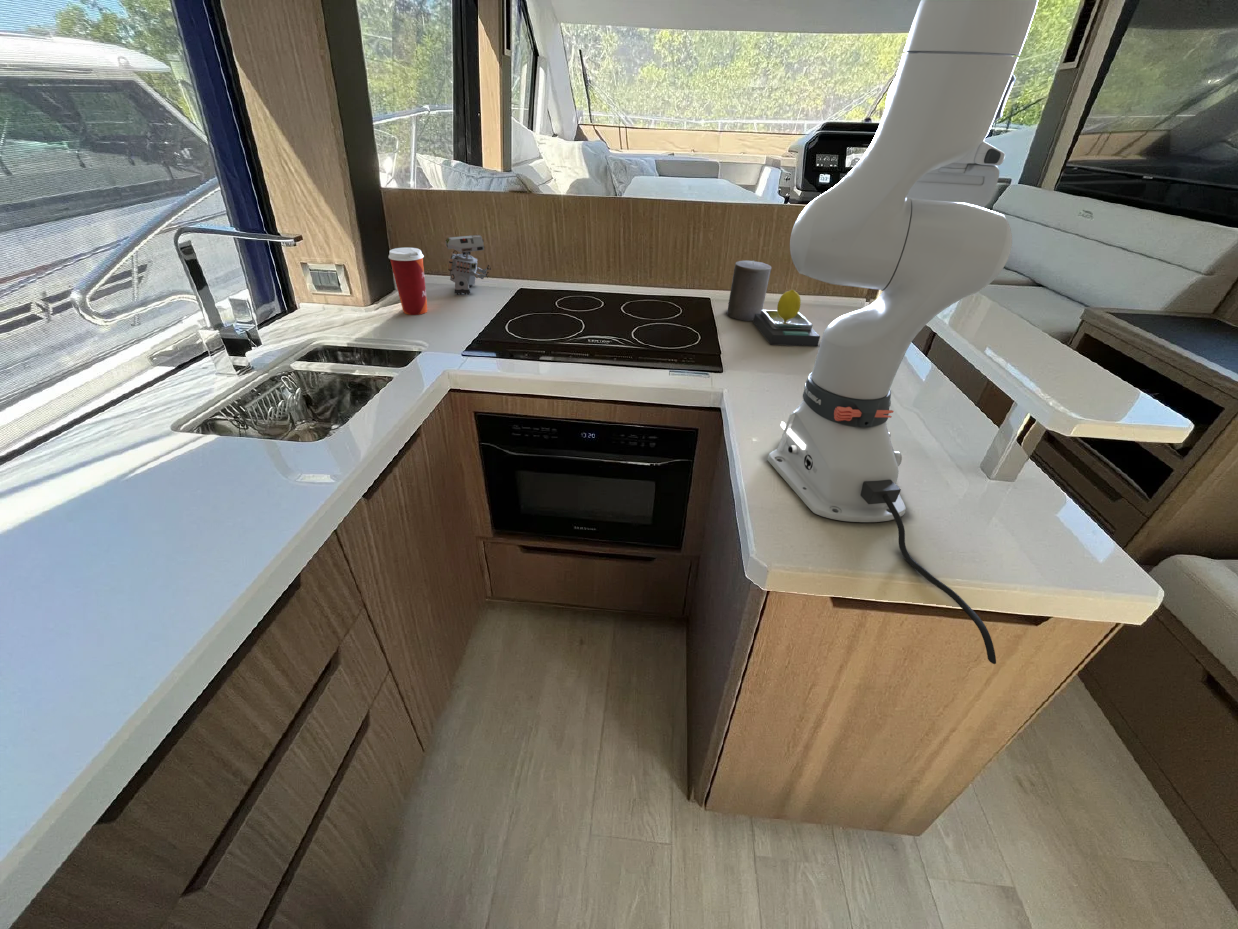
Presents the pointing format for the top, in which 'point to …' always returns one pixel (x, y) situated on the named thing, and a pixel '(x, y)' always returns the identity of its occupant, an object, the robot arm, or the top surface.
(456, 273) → the figurine
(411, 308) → the coffee cup
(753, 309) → the pillar candle
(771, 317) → the scale pan
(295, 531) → the top surface
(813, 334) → the scale
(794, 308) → the lemon
